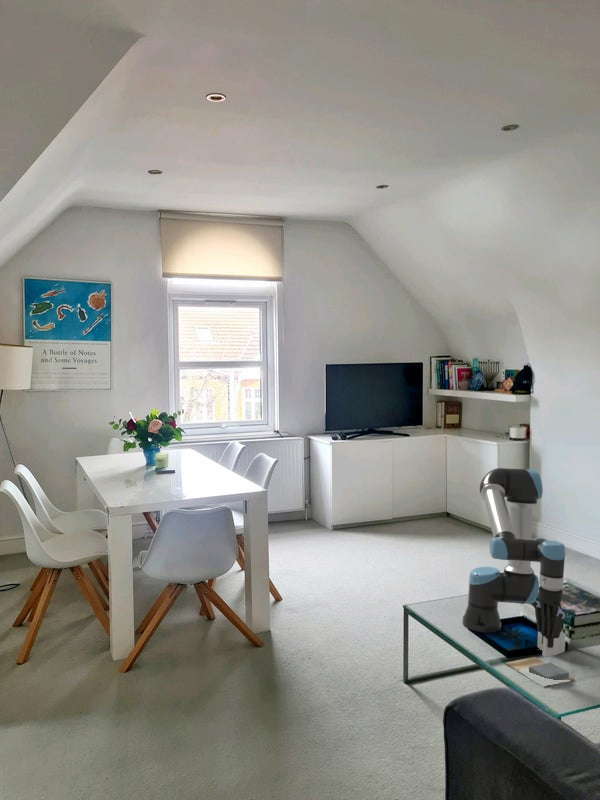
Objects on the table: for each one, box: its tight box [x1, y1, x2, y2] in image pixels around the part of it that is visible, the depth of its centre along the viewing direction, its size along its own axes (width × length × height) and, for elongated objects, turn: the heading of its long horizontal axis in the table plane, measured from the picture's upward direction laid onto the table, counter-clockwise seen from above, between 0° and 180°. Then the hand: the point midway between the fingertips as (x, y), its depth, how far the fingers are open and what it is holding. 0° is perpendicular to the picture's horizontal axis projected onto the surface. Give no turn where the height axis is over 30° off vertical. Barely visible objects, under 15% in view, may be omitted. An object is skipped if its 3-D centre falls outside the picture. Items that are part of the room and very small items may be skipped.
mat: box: [504, 656, 576, 682], centre depth 224 cm, size 18×14×1 cm
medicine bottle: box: [536, 631, 567, 657], centre depth 242 cm, size 7×7×12 cm
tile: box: [529, 662, 570, 680], centre depth 220 cm, size 2×10×8 cm
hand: (546, 655), depth 221 cm, fingers closed
